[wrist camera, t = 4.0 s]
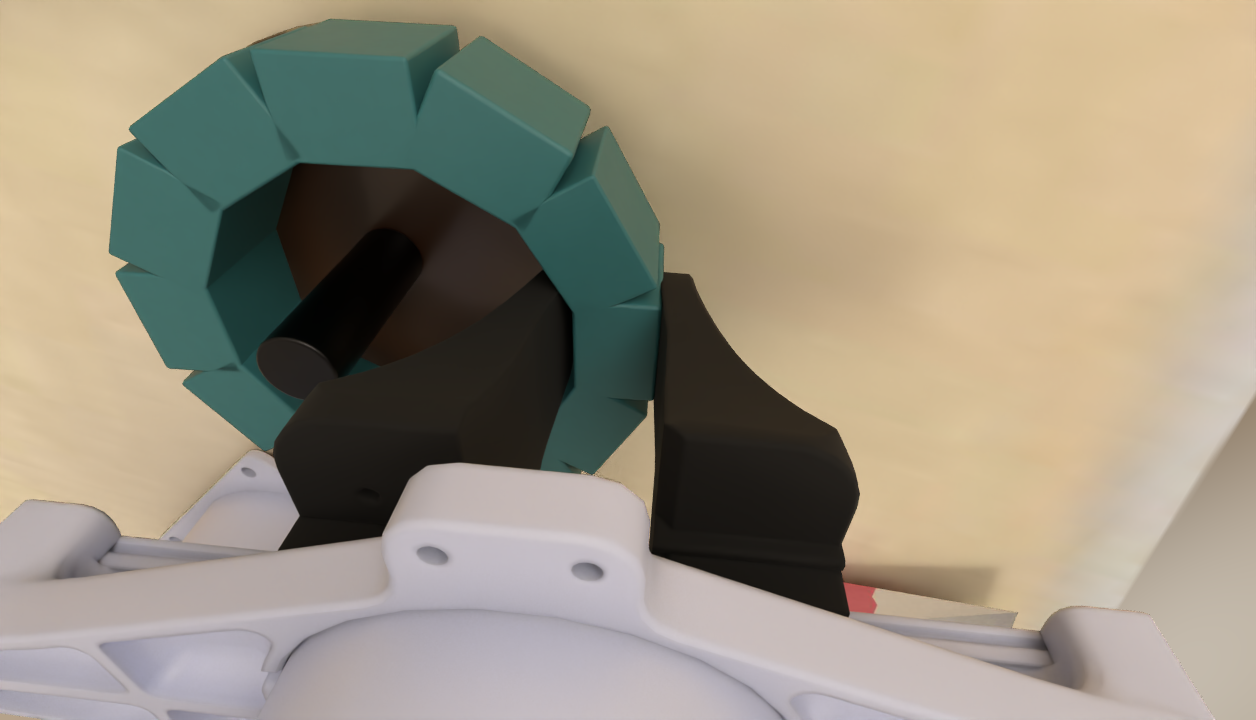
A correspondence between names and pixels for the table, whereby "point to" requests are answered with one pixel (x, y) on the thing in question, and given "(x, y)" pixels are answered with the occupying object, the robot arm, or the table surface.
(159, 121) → the ring
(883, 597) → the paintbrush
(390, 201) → the post
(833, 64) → the table surface
